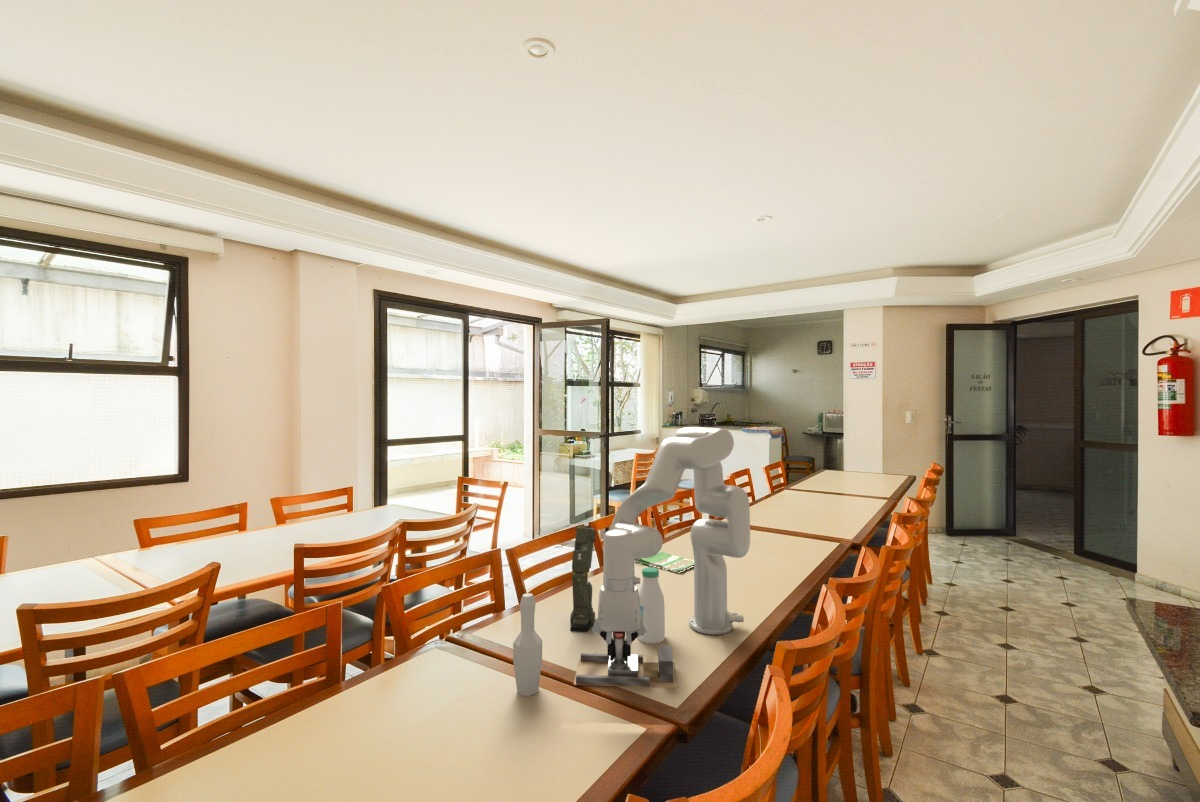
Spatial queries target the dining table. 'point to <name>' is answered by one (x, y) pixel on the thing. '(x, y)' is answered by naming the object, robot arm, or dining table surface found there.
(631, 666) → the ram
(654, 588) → the milk bottle
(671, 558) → the dish towel
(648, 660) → the nut block
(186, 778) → the dining table surface
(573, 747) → the dining table surface
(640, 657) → the press board
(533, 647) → the faceted bottle
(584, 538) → the mechanical leg
